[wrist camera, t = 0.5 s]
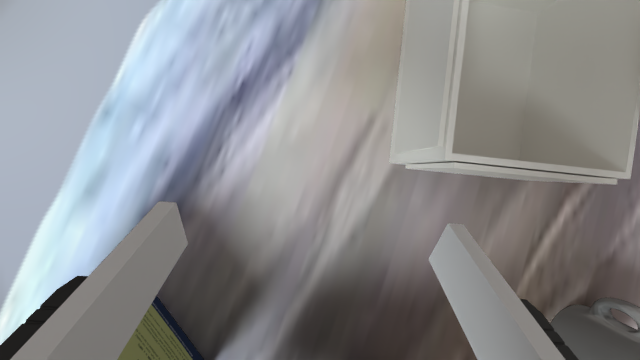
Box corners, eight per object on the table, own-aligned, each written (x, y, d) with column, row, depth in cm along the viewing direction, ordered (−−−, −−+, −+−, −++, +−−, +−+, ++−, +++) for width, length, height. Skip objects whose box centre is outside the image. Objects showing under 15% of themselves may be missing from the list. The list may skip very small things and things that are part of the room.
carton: (512, 180, 34) (629, 185, 22) (384, 167, 32) (436, 166, 20) (533, 15, 33) (666, -71, 21) (402, -9, 31) (469, -120, 19)
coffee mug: (594, 368, 37) (703, 440, 27) (540, 362, 36) (634, 435, 26) (612, 287, 37) (729, 331, 27) (558, 279, 36) (660, 321, 26)
